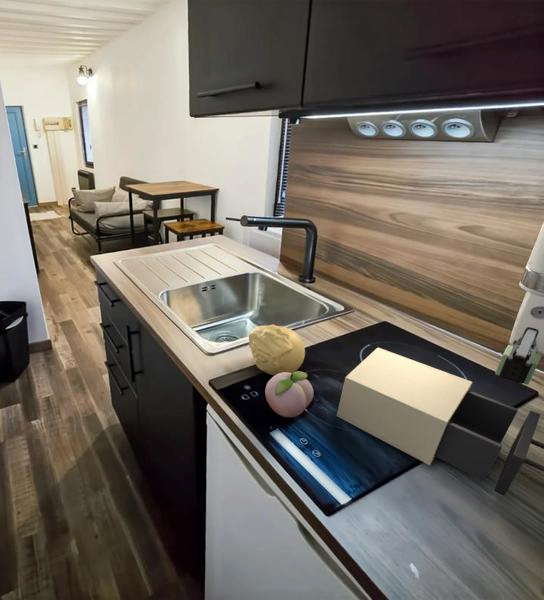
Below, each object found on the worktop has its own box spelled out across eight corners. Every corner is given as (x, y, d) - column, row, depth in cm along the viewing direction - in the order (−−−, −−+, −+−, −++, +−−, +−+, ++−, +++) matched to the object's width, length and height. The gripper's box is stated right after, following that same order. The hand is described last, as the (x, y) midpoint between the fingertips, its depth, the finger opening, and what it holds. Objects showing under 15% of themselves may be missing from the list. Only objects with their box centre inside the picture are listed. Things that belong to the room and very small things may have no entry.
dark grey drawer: (566, 468, 58) (589, 432, 55) (553, 522, 51) (579, 484, 48) (421, 405, 72) (433, 373, 69) (395, 440, 65) (406, 407, 62)
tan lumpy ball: (239, 360, 90) (242, 323, 86) (279, 349, 94) (283, 312, 89) (269, 388, 81) (274, 347, 76) (312, 373, 84) (319, 334, 80)
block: (532, 374, 66) (542, 353, 64) (528, 385, 64) (537, 364, 62) (500, 364, 69) (508, 344, 67) (494, 374, 67) (503, 354, 65)
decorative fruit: (277, 392, 79) (282, 354, 75) (315, 411, 74) (322, 371, 69) (254, 415, 74) (258, 375, 69) (292, 437, 68) (299, 395, 64)
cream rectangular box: (455, 422, 69) (472, 381, 65) (429, 465, 61) (447, 422, 57) (367, 383, 80) (377, 347, 76) (336, 416, 72) (345, 377, 68)
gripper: (583, 305, 51) (534, 406, 59) (594, 271, 60) (551, 362, 68) (511, 291, 57) (475, 385, 65) (531, 262, 66) (497, 347, 74)
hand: (514, 372), depth 66 cm, fingers closed on block, 4 cm apart
